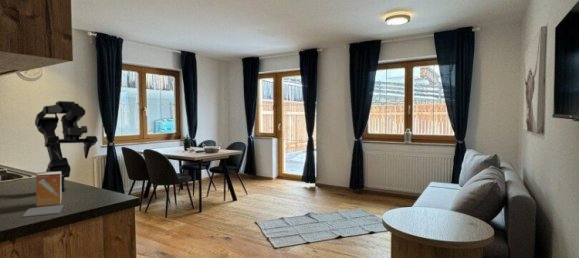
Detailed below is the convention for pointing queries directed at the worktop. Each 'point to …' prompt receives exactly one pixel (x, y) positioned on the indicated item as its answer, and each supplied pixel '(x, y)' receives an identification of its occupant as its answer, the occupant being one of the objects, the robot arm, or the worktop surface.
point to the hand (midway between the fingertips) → (74, 159)
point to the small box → (48, 188)
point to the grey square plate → (43, 210)
